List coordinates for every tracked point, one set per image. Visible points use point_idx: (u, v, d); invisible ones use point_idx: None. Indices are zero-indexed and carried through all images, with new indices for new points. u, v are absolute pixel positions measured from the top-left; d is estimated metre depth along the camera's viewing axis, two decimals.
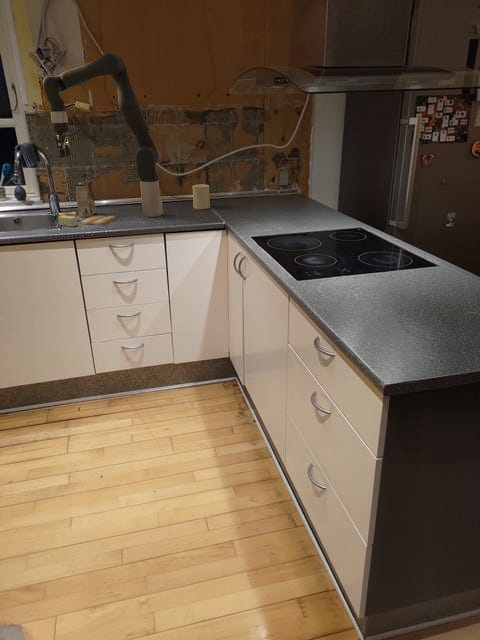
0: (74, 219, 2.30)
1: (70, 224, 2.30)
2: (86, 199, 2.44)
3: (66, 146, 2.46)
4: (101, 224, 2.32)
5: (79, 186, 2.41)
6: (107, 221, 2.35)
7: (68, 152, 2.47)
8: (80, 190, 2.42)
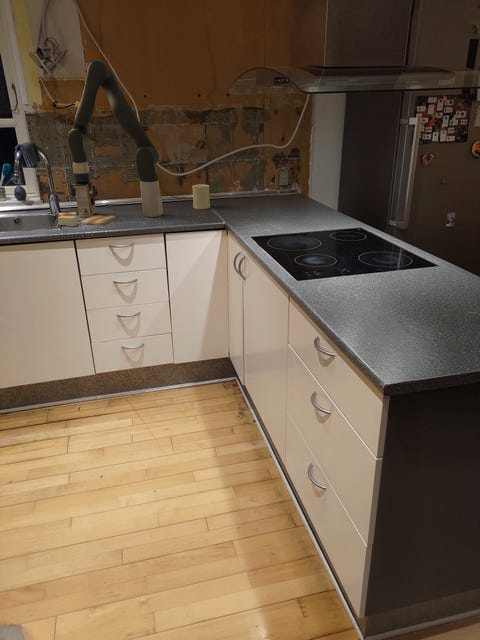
0: (75, 218, 2.31)
1: (72, 224, 2.30)
2: (86, 199, 2.44)
3: None
4: (101, 224, 2.32)
5: (79, 186, 2.41)
6: (107, 221, 2.35)
7: None
8: (80, 190, 2.42)
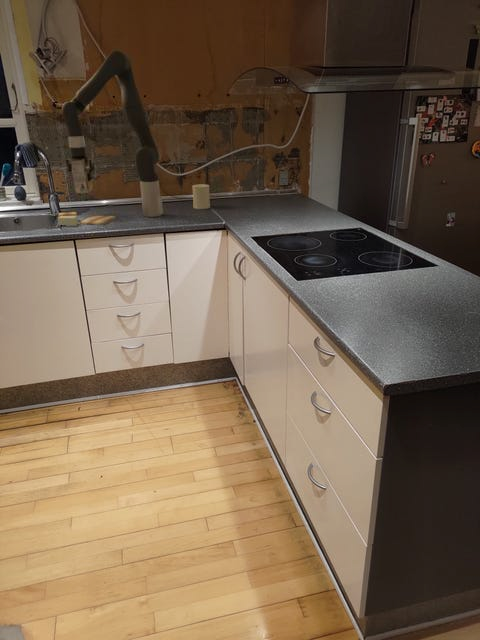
0: (76, 218, 2.32)
1: (73, 223, 2.31)
2: (83, 174, 2.39)
3: None
4: (101, 224, 2.32)
5: (75, 161, 2.36)
6: (107, 221, 2.35)
7: None
8: (76, 165, 2.37)
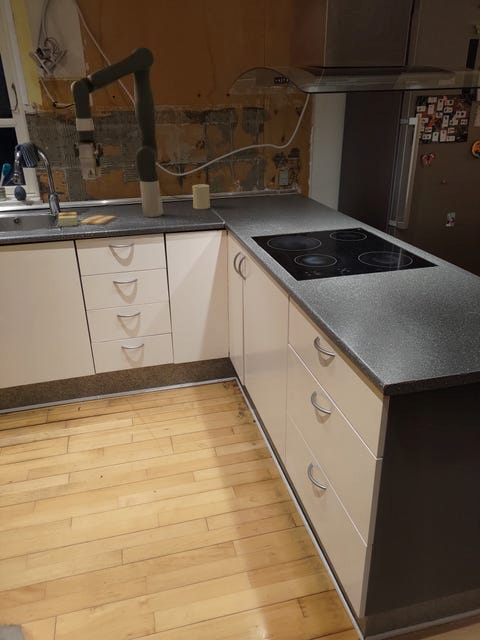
0: (76, 218, 2.32)
1: (74, 223, 2.31)
2: (91, 159, 2.23)
3: None
4: (101, 224, 2.32)
5: (83, 145, 2.20)
6: (107, 221, 2.35)
7: None
8: (84, 149, 2.21)
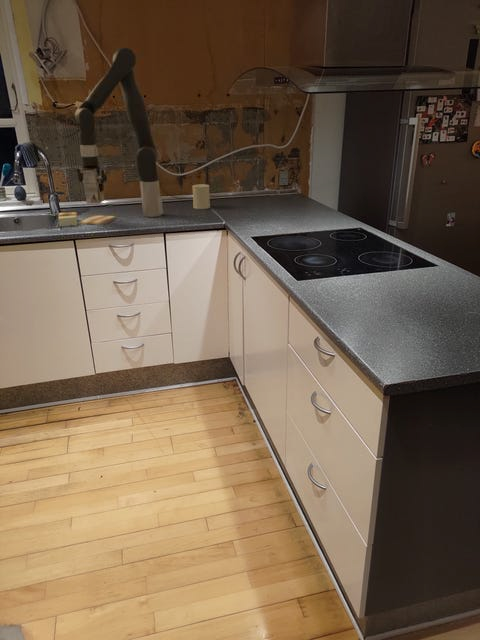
0: (76, 218, 2.33)
1: (75, 223, 2.32)
2: (94, 184, 2.27)
3: None
4: (101, 224, 2.32)
5: (87, 170, 2.24)
6: (107, 221, 2.35)
7: None
8: (88, 175, 2.25)
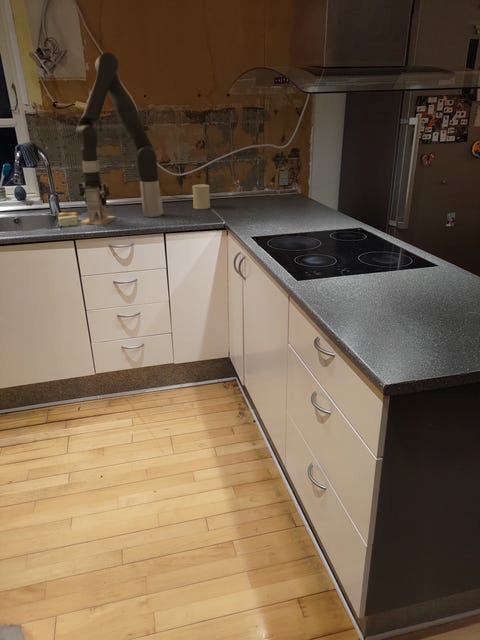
0: None
1: (76, 222, 2.32)
2: (97, 202, 2.31)
3: None
4: (101, 224, 2.32)
5: (89, 189, 2.28)
6: (107, 221, 2.35)
7: None
8: (90, 193, 2.29)
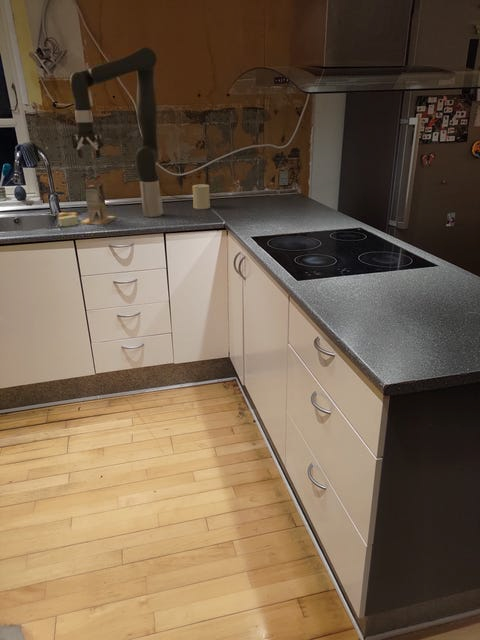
0: None
1: (76, 222, 2.33)
2: (97, 203, 2.31)
3: (80, 148, 2.28)
4: (101, 224, 2.32)
5: (89, 189, 2.28)
6: (107, 221, 2.35)
7: (82, 154, 2.30)
8: (90, 193, 2.29)
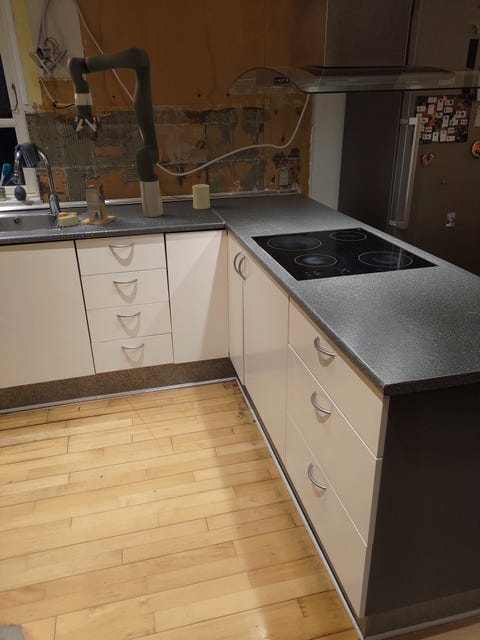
0: None
1: (76, 222, 2.34)
2: (97, 203, 2.31)
3: (79, 130, 2.42)
4: (101, 224, 2.32)
5: (89, 189, 2.28)
6: (107, 221, 2.35)
7: (81, 136, 2.44)
8: (90, 193, 2.29)
